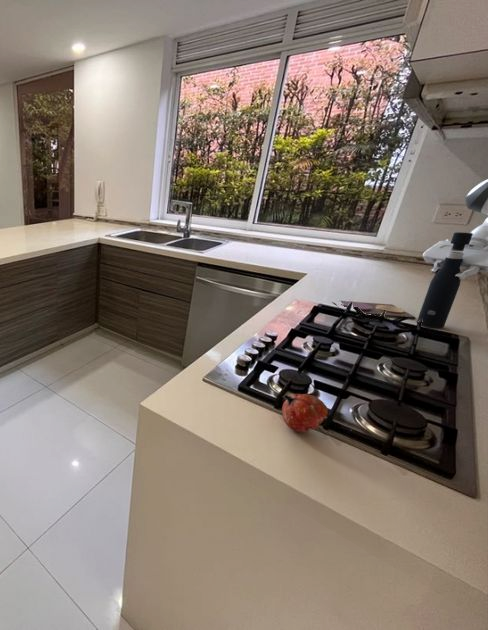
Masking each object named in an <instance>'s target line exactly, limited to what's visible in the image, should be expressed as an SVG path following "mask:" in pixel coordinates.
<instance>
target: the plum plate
mask: <svg viewBox="0 0 488 630" xmlns="http://www.w3.org/2000/svg"><path fill="white" fill-rule="evenodd" d="M344 301H345V302H342V304H341V305H342V306H344V307H347V306H348V304H349V303H350V302H353V307H354V306H356V307H358V308H360V309H361V310H362V311H370V310H372V306H370V305H368V304H364V303H365V302H364V303H360V302H361V301H352V300H351V301H350V300H349V301H348V300H347V301H346V300H344Z"/></svg>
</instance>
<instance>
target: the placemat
mask: <svg viewBox="0 0 488 630" xmlns="http://www.w3.org/2000/svg"><path fill="white" fill-rule="evenodd" d="M340 301H341V302H345V301H346V300H340ZM359 302H360V303H364V304H368V305H370V306H372V310H370V311H363V312H364V313H366V314H371V315H376V316H375V317H381V316H380V315H381V313H382V312H383V311H384V310H386V313H385V317H384V318H397V319H400V318H399V317H402V316H407V317H408V320H409V319H410V320H415V319H416V316H414V315H413V314H410V313H409V312H407V311H406V310H405V309H404V308H402V307H398V306H396V305H395V304H393V303H377V302H365V301H364V302H362V301H359Z"/></svg>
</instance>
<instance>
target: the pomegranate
mask: <svg viewBox="0 0 488 630" xmlns="http://www.w3.org/2000/svg"><path fill="white" fill-rule="evenodd" d="M281 398H282V399H283V398H284V399H286V400H285V401H284V402H283V403H282V407H281V411H282V413H281V415H282V420H283V421H284V423H285V425H286V426H287V427H288V428H289V429H291V430H293V431H294V432H296V433H300V434H301V433H302V434H306V433H307V432H308V431H309V430H315V429H318V430H319V431H320V432H321V433H322V434H324V435H325V436H327V433H326V432H324V431H323V429H322V428H321V427H320V425H321V424H322V423H323V422H324V421H325V419H326V417H327V415H328V414H329V409H328V407H327V404H326V403H325V402H324V401H323V400H321V399H320V398H318V397H317V396H315V395H311V394H308V393H303V394H301V393H295V394H294V395H292V396H289V395H287V394H284V395H283V396H282V397H281Z"/></svg>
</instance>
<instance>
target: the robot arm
mask: <svg viewBox="0 0 488 630" xmlns="http://www.w3.org/2000/svg"><path fill="white" fill-rule="evenodd" d="M465 205H466V207H467V209H468V210H470V211H474V212H476V213H480V214H483V215H486V216H488V178H487V179H485V180H483V181H481V182H480V183H478V184H476V185H475V186H474V187H473V188H472V189H471V190H470V191H469V192H468V193H467V195H466V196H465ZM469 233H473V235H472V238H471V240H470V243H469V244H468V245H465V247H464V251H452V250H451V249H452V247H453V244H451V240H452V238H447V239H443V240H439V241H438V242H437V243H435V244H433V245H432V246H431V247H429V248H428V249H426V250H425V251H424V252H423V253H422V258H423V260H424V262H425V263H428V264H433V268H431V269H430V272H429V273H430V274H431V275H435V274H436V273H437V272H438V271H439V270H440V268H441V267H442V266H443V263H444V260H445V258H446V257H448V256H447V255H448V253H449V252H463V254H464V255H463V257H462V259H463V261H462V263H461V266H460V269H463V270H465V271H460V272H458V274H456V275H455V277H456V278H457V279H460V280H461V281H463V280H464V279H466V278H468V277H470V276H473V275H476V274H478V273H479V272H481V273H487V274H488V217H486V218H485V220H484V221H483V222H482V223H481V224H480V225H478V226H476V227H475V228H474V229H472V230H471V231H470V232H469Z"/></svg>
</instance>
